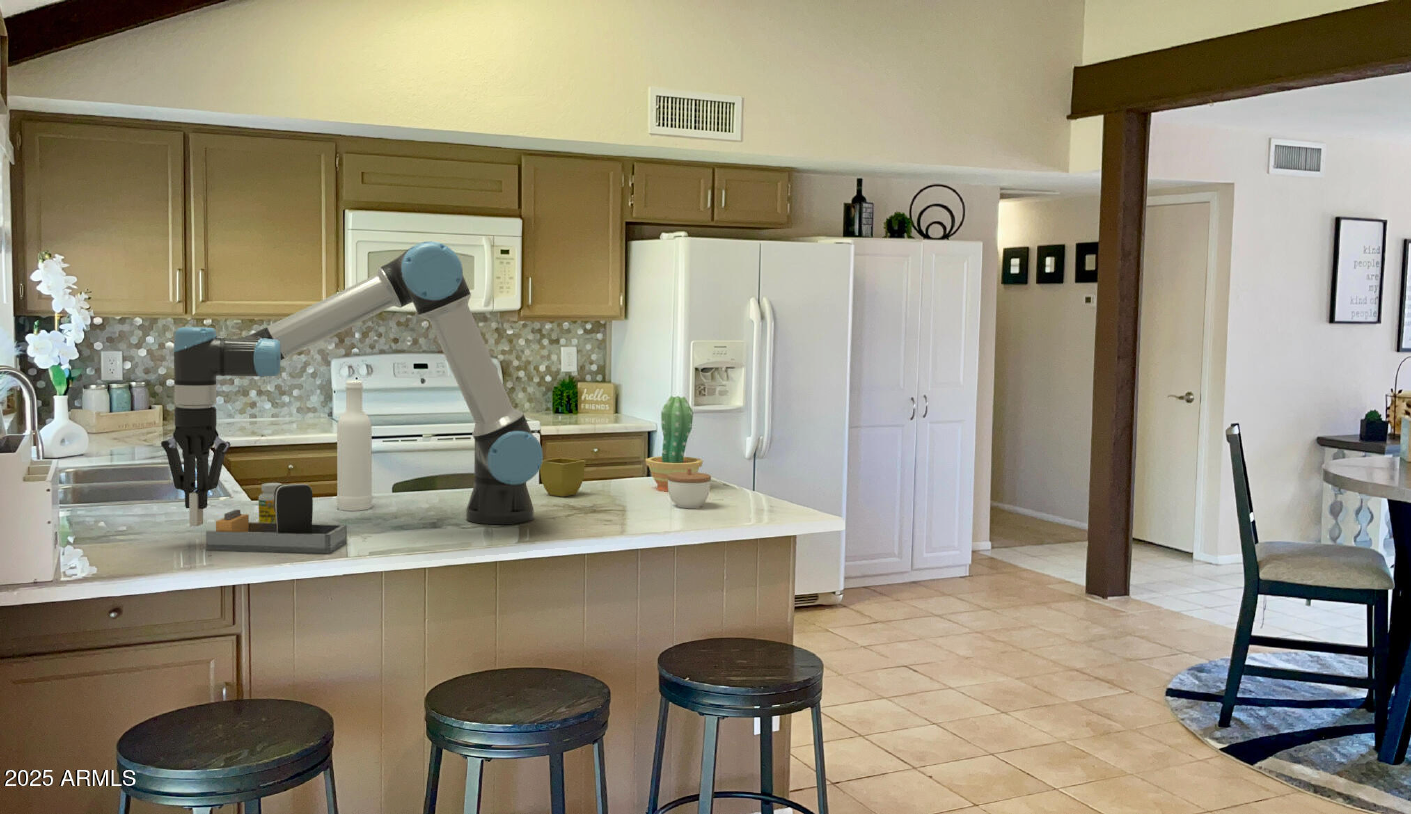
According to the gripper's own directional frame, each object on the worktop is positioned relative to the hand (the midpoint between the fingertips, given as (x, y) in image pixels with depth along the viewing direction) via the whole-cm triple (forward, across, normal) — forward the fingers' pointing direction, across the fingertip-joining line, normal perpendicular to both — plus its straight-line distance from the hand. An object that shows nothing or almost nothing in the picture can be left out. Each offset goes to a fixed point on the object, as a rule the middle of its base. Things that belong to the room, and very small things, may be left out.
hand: (196, 524), depth 226 cm
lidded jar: (+3, -95, -58) cm, 112 cm away
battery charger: (+3, -19, 0) cm, 20 cm away
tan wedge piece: (+2, -7, 0) cm, 8 cm away
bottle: (+4, -17, -43) cm, 47 cm away
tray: (+4, -16, 0) cm, 17 cm away
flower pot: (+3, -62, -69) cm, 93 cm away
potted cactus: (+3, -90, -83) cm, 123 cm away
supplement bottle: (+4, -8, -17) cm, 19 cm away
